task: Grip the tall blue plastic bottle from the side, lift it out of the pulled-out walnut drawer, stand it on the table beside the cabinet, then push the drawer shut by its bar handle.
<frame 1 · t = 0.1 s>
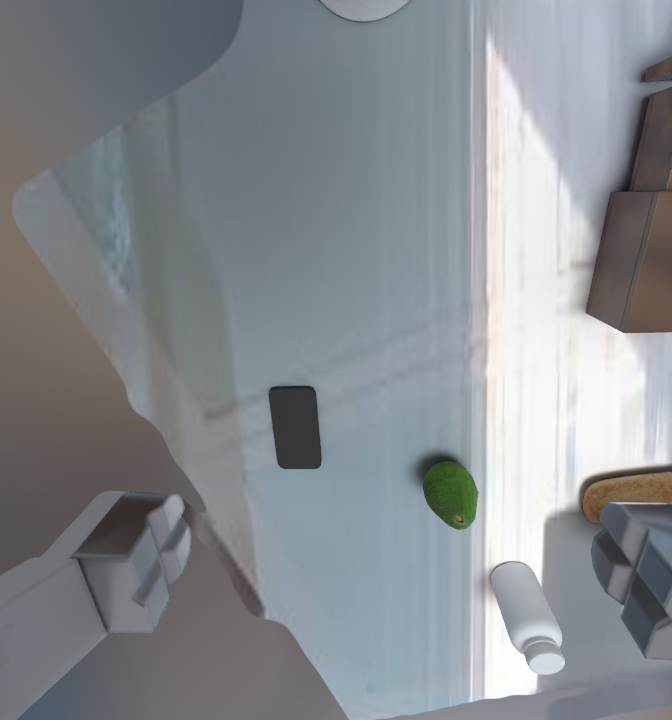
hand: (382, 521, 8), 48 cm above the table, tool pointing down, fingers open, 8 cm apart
pill bottle: (511, 575, 73), on the table
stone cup: (627, 496, 64), on the table
avocado: (443, 468, 65), on the table
cabinet: (649, 254, 50), on the table
phone: (296, 427, 64), on the table
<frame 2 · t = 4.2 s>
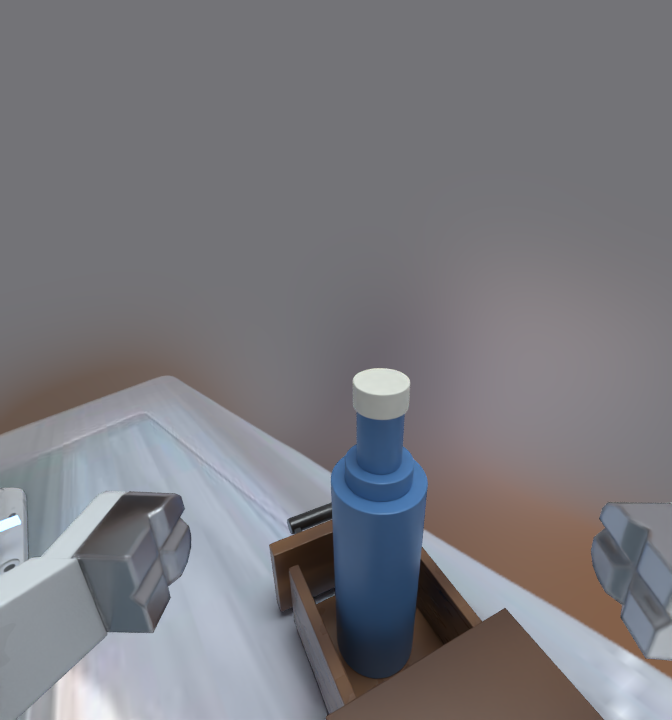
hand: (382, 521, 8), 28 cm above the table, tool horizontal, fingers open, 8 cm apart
drawer: (362, 594, 30), point 4 cm above the table, slide at 11.0 cm, touching bottle
bottle: (374, 635, 30), point 2 cm above the table, touching drawer
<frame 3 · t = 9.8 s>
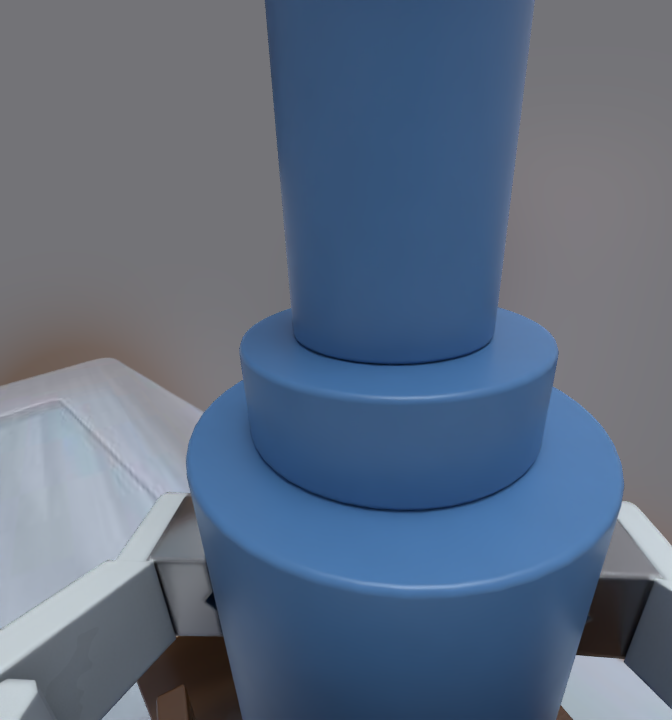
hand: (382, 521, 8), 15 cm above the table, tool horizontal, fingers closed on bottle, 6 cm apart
when the fingers open (12 cm above the table, at t = 19.0 s): bottle stays where it is, on the table.
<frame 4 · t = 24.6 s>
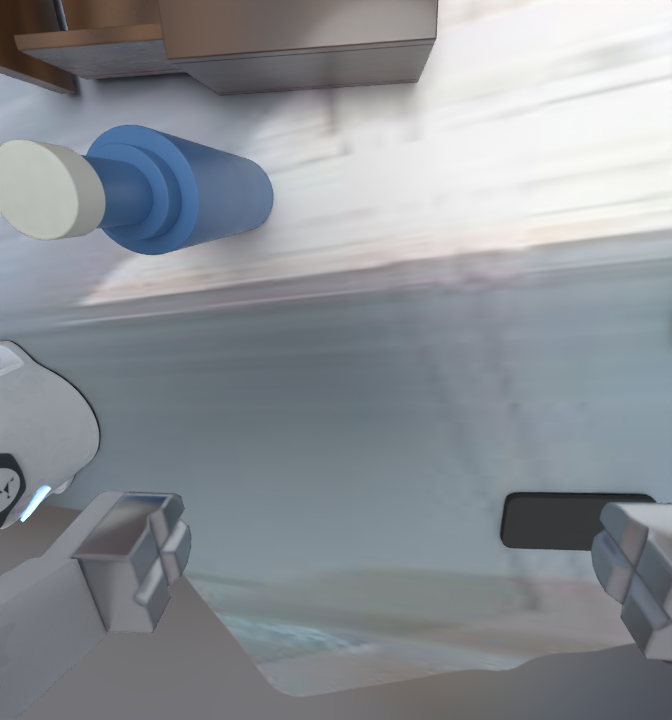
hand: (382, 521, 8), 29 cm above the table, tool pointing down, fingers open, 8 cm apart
bottle: (239, 195, 33), on the table
phone: (572, 518, 43), on the table
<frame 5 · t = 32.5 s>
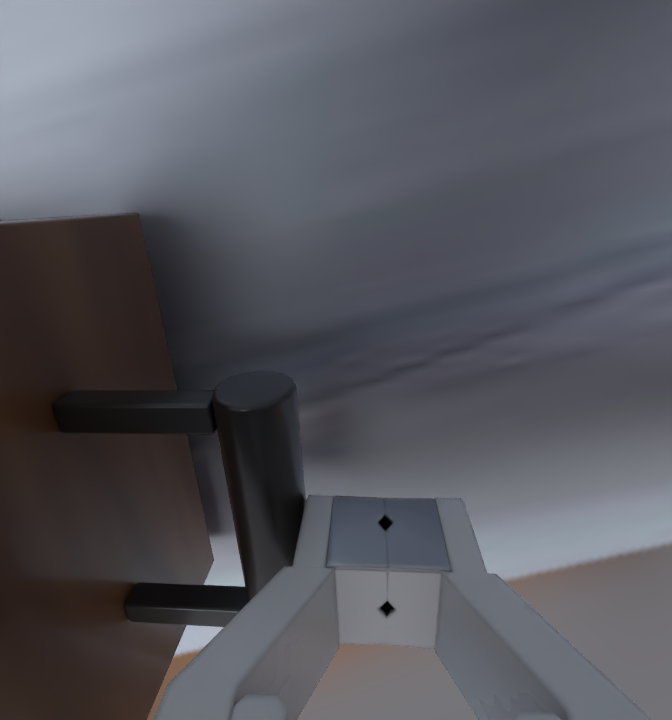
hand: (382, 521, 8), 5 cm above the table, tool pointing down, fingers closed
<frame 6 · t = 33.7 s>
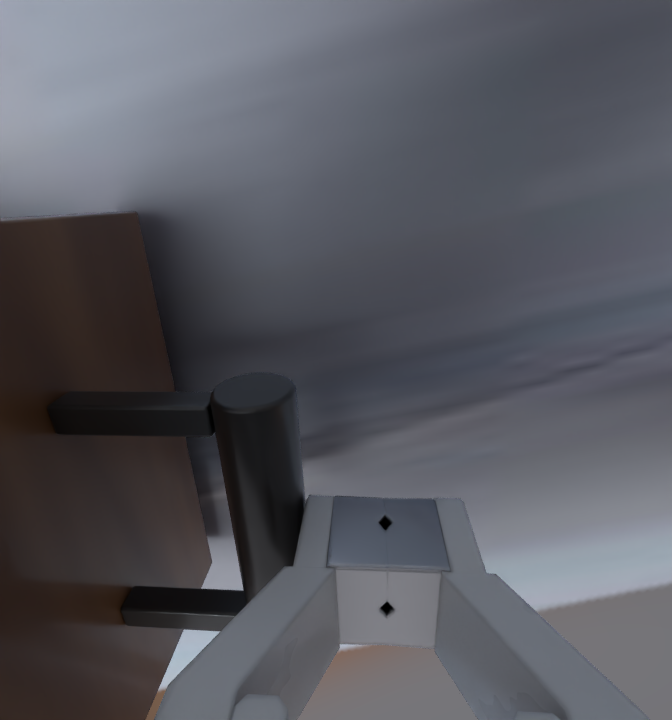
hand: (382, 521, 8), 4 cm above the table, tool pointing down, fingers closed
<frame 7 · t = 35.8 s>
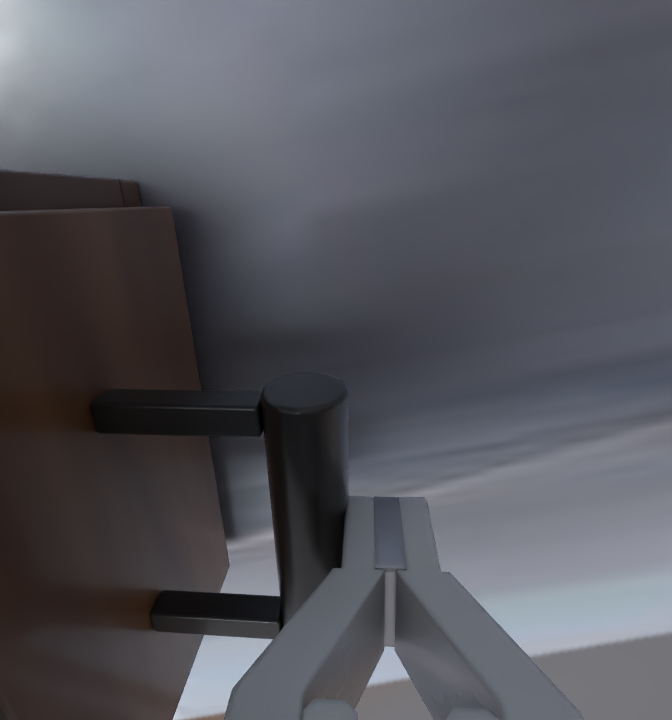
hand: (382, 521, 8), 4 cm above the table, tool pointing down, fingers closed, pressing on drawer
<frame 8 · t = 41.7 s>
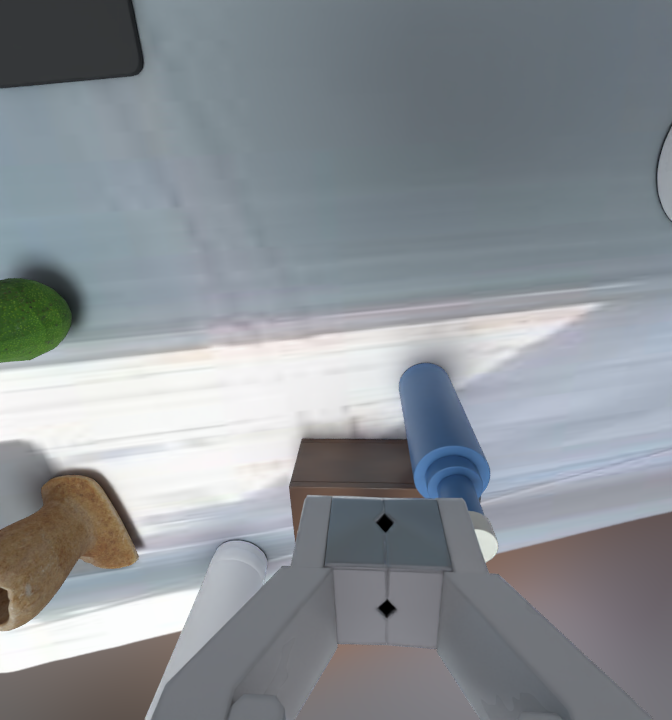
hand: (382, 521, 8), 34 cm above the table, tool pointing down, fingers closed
bottle 2: (241, 558, 57), on the table
drawer: (397, 506, 45), point 4 cm above the table, slide at 0.0 cm
bottle: (424, 385, 44), on the table
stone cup: (90, 512, 56), on the table
avocado: (56, 305, 44), on the table
cabinet: (364, 480, 50), on the table
phone: (54, 32, 34), on the table
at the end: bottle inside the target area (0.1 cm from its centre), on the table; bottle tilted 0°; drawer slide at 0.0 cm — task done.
